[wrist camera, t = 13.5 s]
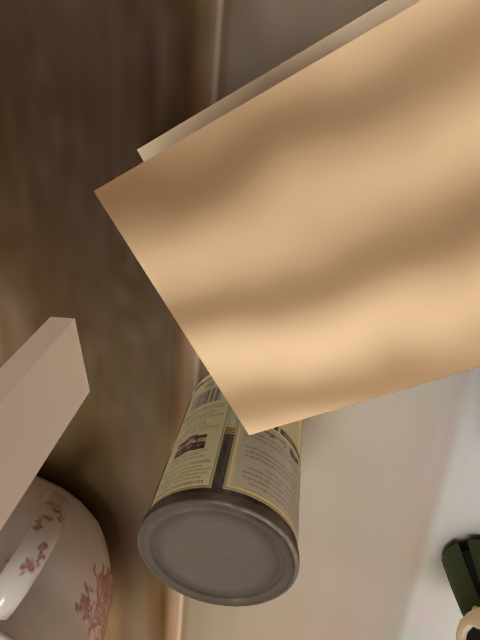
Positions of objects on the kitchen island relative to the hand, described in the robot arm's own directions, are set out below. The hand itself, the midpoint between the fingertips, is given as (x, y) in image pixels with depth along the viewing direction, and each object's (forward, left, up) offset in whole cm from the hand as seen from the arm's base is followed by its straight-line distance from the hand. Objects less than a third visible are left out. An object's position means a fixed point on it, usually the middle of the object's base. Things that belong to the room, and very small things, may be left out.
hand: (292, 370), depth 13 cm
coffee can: (+15, -12, -21) cm, 28 cm away
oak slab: (+1, +3, -12) cm, 12 cm away
